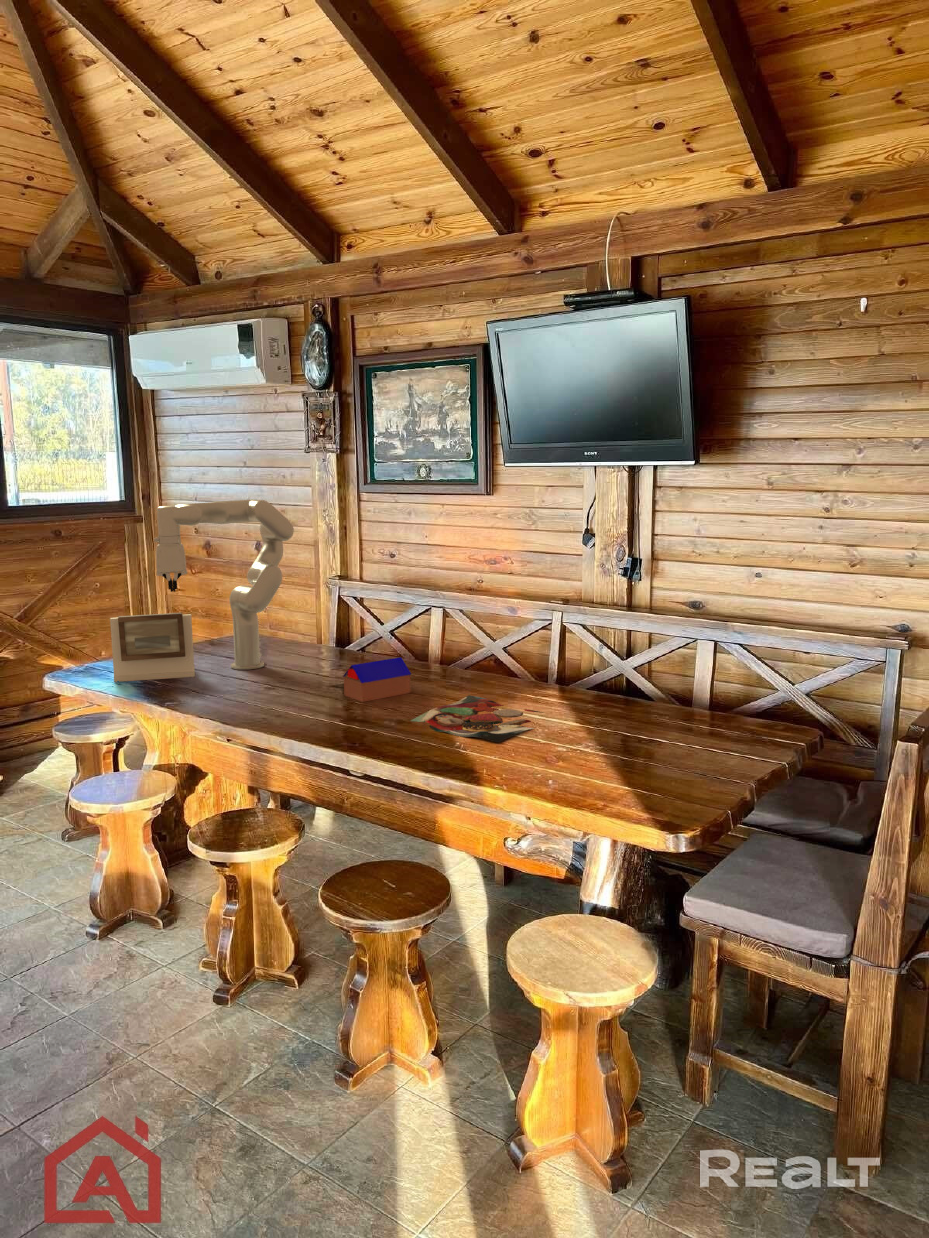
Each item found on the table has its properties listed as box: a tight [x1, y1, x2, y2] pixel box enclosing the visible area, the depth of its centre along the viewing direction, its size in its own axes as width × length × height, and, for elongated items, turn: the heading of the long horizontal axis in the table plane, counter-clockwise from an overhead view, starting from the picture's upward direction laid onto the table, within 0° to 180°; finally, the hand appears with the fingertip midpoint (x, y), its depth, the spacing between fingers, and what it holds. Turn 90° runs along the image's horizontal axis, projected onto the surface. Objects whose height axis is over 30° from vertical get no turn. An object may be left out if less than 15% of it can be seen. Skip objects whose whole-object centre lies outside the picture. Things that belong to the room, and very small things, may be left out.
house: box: [342, 657, 412, 703], centre depth 310 cm, size 12×20×12 cm, turn 129°
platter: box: [410, 694, 544, 743], centre depth 278 cm, size 35×36×2 cm
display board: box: [109, 613, 196, 683], centre depth 336 cm, size 8×28×23 cm, turn 106°
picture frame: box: [117, 612, 185, 661], centre depth 331 cm, size 2×22×16 cm, turn 106°
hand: (173, 591), depth 331 cm, fingers closed
